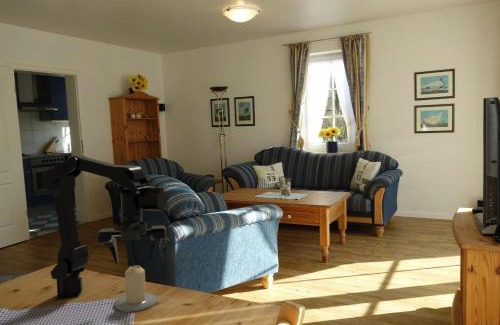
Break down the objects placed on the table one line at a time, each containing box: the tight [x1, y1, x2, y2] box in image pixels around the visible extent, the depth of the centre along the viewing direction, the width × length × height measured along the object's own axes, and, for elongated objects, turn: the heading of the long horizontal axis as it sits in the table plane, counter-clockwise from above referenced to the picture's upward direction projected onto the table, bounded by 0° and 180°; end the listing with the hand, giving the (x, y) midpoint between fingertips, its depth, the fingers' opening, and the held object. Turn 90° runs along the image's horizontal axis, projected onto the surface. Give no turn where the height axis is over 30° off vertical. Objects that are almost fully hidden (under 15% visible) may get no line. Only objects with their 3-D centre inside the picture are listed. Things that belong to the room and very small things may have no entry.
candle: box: [124, 264, 146, 304], centre depth 118 cm, size 6×6×10 cm
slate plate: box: [113, 292, 158, 313], centre depth 118 cm, size 12×12×1 cm
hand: (133, 262), depth 118 cm, fingers open, 9 cm apart
